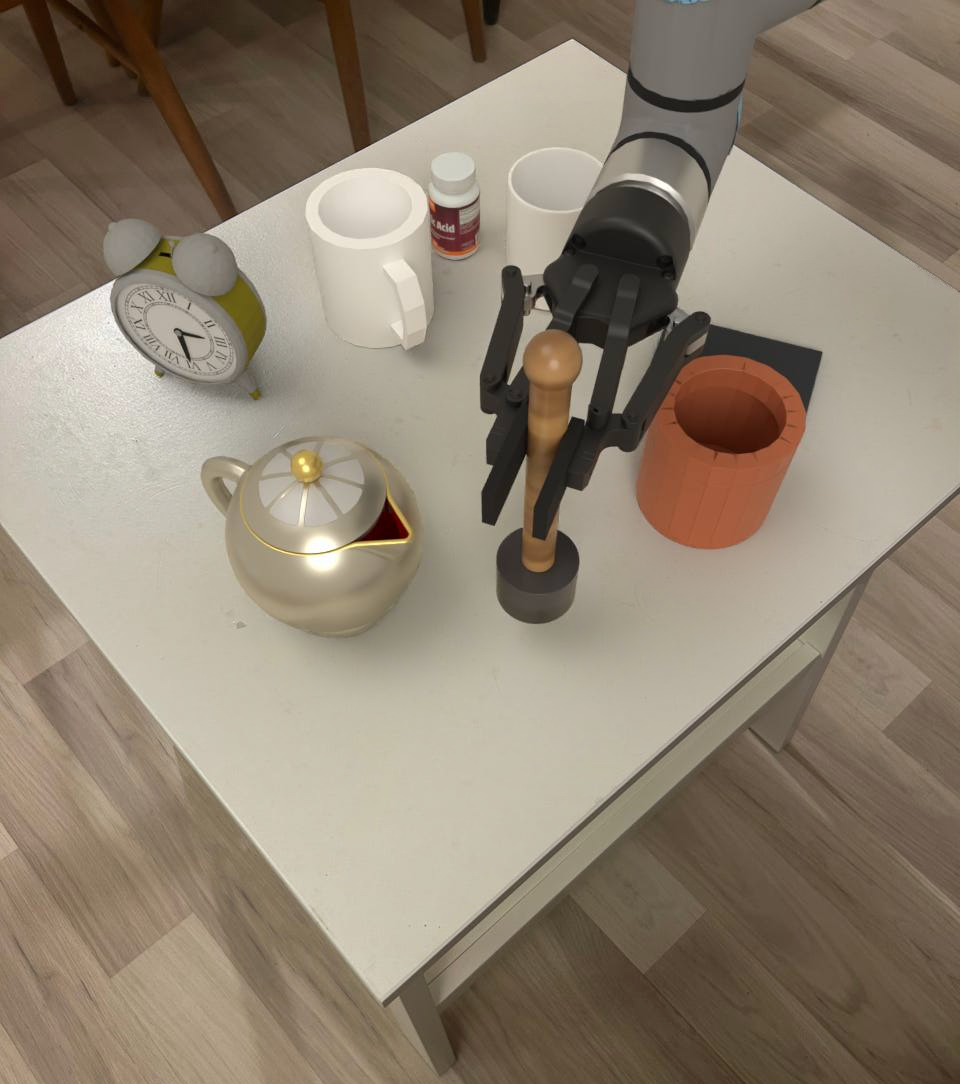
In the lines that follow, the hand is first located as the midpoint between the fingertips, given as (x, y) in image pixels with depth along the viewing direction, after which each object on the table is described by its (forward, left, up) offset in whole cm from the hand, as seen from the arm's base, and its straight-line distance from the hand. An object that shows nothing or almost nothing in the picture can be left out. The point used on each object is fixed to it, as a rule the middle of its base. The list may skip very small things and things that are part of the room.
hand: (514, 516), depth 49 cm
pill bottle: (+45, -16, -21) cm, 52 cm away
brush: (+4, -4, -16) cm, 17 cm away
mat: (+19, -31, -21) cm, 42 cm away
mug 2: (+35, -23, -21) cm, 47 cm away
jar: (+9, -22, -21) cm, 32 cm away
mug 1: (+39, -6, -21) cm, 45 cm away
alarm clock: (+39, +10, -21) cm, 46 cm away
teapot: (+14, +9, -21) cm, 27 cm away
